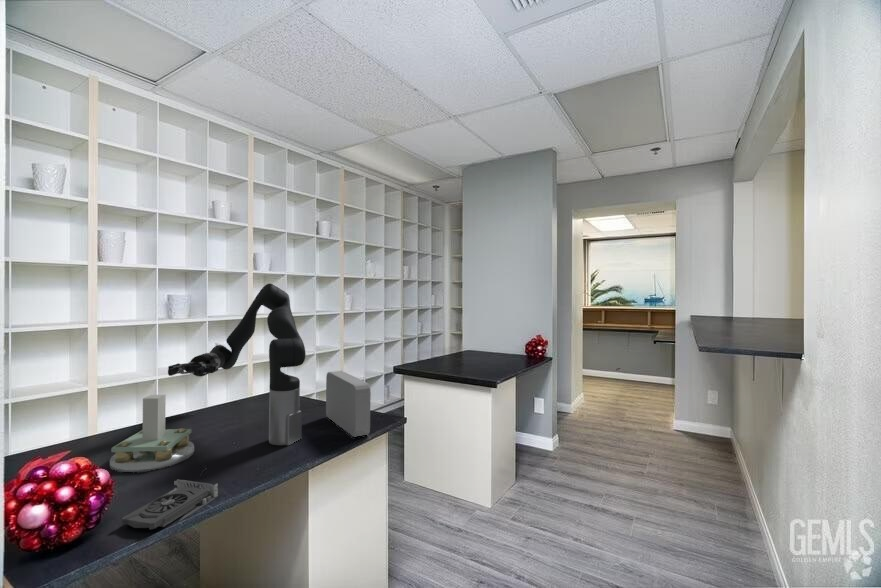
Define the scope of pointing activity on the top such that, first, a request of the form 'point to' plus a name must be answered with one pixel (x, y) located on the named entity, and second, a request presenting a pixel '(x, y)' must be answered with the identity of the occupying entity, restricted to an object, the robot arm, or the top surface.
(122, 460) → the chassis
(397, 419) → the top surface
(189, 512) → the graphics card
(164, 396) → the plate with upright post
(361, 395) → the gray rounded box
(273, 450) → the top surface
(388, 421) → the top surface
